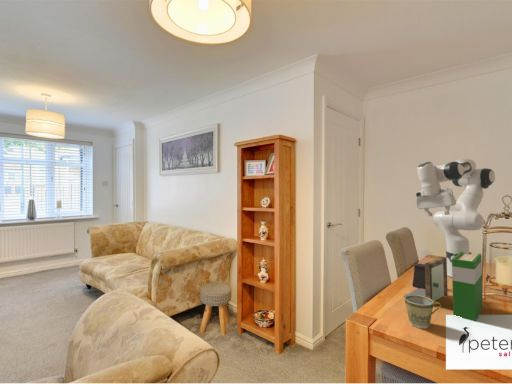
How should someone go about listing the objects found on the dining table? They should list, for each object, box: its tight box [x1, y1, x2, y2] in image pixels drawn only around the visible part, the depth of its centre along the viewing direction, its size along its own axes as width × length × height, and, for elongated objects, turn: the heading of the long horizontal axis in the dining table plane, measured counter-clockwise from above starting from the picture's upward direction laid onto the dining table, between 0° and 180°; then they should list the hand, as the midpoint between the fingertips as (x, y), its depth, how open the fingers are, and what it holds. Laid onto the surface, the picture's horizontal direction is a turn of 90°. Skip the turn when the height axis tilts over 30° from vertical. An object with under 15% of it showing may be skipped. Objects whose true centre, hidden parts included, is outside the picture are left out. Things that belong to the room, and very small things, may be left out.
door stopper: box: [412, 262, 425, 290], centre depth 150 cm, size 9×6×12 cm, turn 128°
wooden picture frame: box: [424, 256, 448, 300], centre depth 131 cm, size 19×2×19 cm, turn 125°
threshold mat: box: [403, 288, 426, 298], centre depth 136 cm, size 16×11×1 cm
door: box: [432, 263, 445, 302], centre depth 131 cm, size 14×3×16 cm, turn 125°
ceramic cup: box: [404, 295, 442, 330], centre depth 108 cm, size 13×10×10 cm
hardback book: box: [451, 252, 484, 322], centre depth 118 cm, size 18×7×24 cm, turn 133°
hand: (438, 215), depth 151 cm, fingers open, 8 cm apart
